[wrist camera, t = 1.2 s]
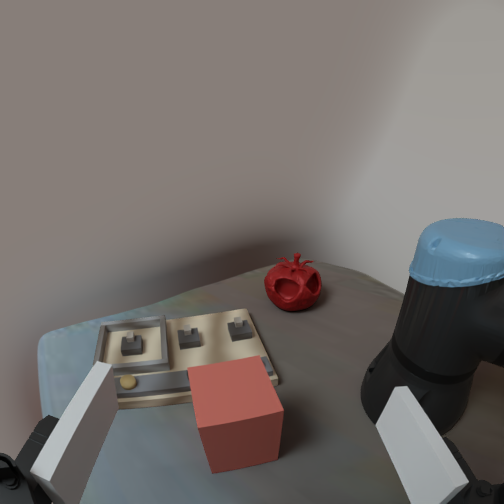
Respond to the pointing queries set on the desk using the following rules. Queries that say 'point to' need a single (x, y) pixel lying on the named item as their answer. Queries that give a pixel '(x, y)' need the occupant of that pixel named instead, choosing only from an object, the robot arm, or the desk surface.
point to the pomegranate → (293, 284)
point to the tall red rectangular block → (236, 413)
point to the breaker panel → (173, 353)
